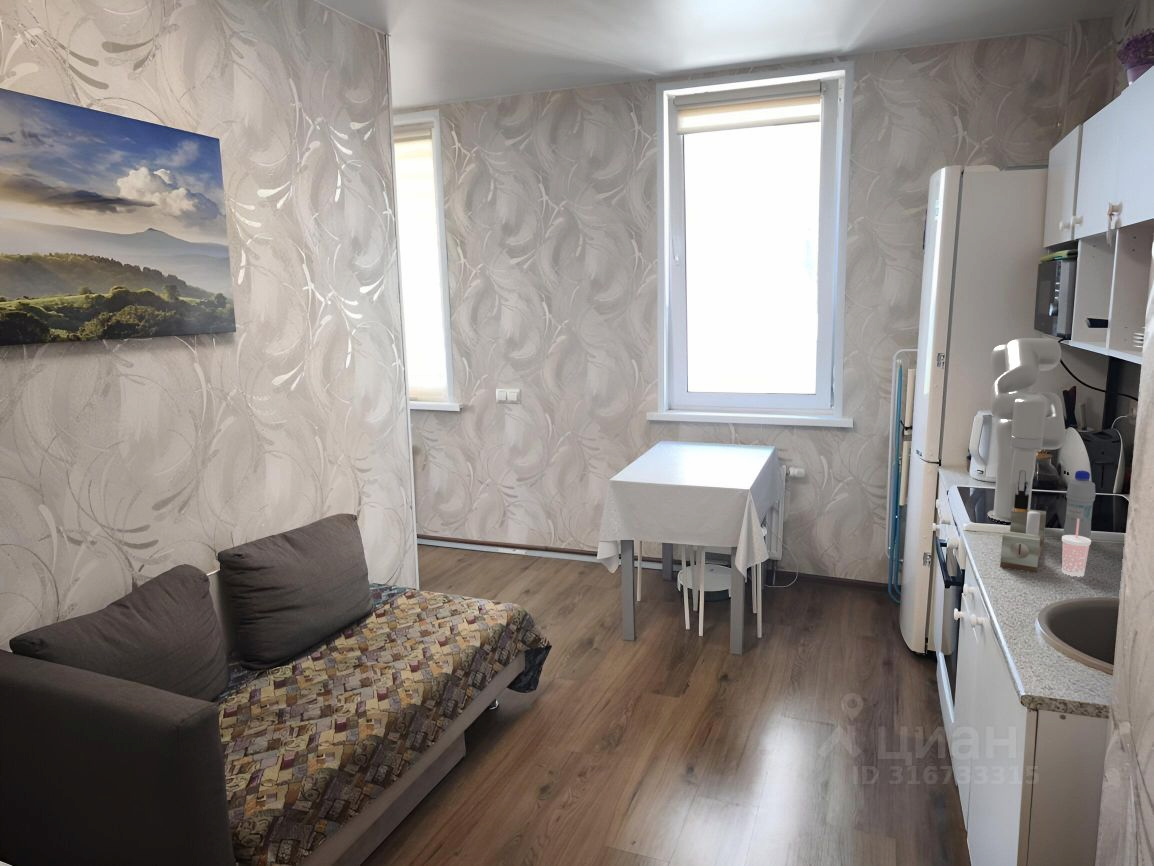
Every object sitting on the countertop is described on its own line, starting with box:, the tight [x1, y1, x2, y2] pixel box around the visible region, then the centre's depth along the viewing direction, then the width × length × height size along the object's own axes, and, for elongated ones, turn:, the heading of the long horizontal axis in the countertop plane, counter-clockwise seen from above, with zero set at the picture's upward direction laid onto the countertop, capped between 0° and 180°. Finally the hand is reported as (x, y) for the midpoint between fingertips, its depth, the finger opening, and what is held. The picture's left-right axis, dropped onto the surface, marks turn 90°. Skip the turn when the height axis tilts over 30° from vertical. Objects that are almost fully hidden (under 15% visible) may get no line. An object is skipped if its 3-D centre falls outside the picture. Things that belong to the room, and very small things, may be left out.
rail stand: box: [999, 508, 1047, 574], centre depth 204 cm, size 28×8×8 cm, turn 146°
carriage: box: [1026, 511, 1040, 535], centre depth 198 cm, size 5×7×10 cm
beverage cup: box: [1061, 519, 1092, 578], centre depth 189 cm, size 6×6×14 cm
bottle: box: [1063, 470, 1097, 539], centre depth 211 cm, size 7×7×20 cm
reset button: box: [1015, 508, 1026, 512], centre depth 214 cm, size 3×3×4 cm
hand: (1020, 508), depth 214 cm, fingers closed
